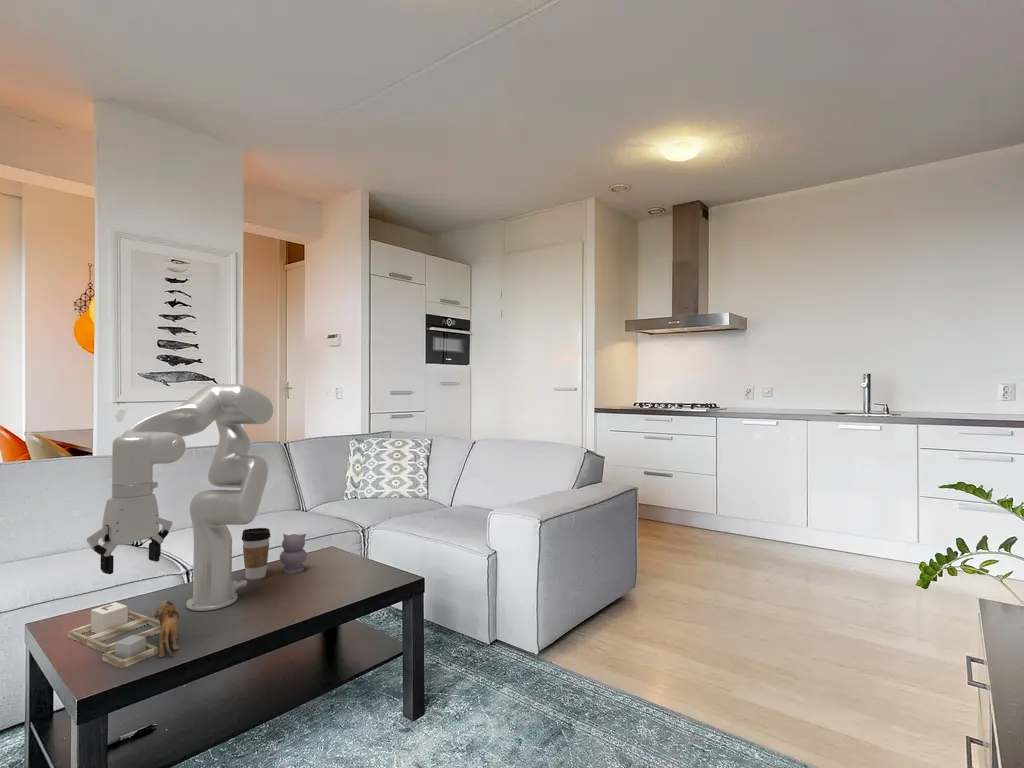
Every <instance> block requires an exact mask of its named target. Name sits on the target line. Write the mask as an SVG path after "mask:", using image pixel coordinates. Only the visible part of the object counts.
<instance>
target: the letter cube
mask: <svg viewBox="0 0 1024 768" xmlns="http://www.w3.org/2000/svg"><path fill="white" fill-rule="evenodd" d="M128 611H129V607H128V605H126V604H122V603H119V602H118V601H117V602H116V601H115V602H112V603H108V604H106V605H103V606H100V607H99V606H98V607H96V608H93V609H91V610H90V624H91V631H90V632H91V633H93V632H94V633H93V634H95V633H96V634H98V633H101V632H104V631H106V630H109V629H112V628H115V627H118V626H121V625H124V624H126V623H129V622H128V621H129V620H128V619H129V618H128Z"/></svg>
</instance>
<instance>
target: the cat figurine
mask: <svg viewBox="0 0 1024 768" xmlns="http://www.w3.org/2000/svg"><path fill="white" fill-rule="evenodd" d="M306 536H307V533H304V534H303V533H302V534H297V533H293V534H285V533H283V540H282V543H281V547H282V549H283V550H282V551H281V553H280V555H279V561H280V563H281V564H282V565H284V566H283V569H282V570H283V573H284V574H286V575H292V574H298V573H302V572H303V571H304V570H305V565H304V563H305V561H306V560H307V557H308V553H307V552H306V550H305V549H304V547H305V545H306Z"/></svg>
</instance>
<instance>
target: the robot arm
mask: <svg viewBox="0 0 1024 768" xmlns="http://www.w3.org/2000/svg"><path fill="white" fill-rule="evenodd" d="M273 415H274V407H273V403H272V401H271V400H270V398H269V397H268V396H266V395H264V394H263V393H261V392H259V391H257V390H256V389H254V388H252V387H250V386H248V385H244V384H238V383H237V384H235V383H234V384H233V383H228V384H227V383H226V384H225V383H213V384H209V385H206V386H204V387H202V388H201V389H200V390H199V391H198V392H196V393H194V394H193V395H192V396H191V397H190V398H188V399H187V400H186V401H184V402H183V403H182V404H180V405H179V406H176V407H173V408H169V409H166V410H165V411H162V412H160V413H156V414H153V415H151V416H148V417H145V418H144V419H142V420H140V421H138V422H136V423H135V424H133V425H132V426H131V427H129V428H128V429H126V431H125V432H124V433H122V434H121V435H120V436H117V437H116V438H115V439H114V440H113V441H112V448H111V449H112V452H111V453H112V454H111V455H112V456H111V457H112V460H111V461H112V462H111V463H112V464H111V465H112V466H111V470H112V471H111V481H112V482H111V498H107V500H106V503H105V508H104V511H103V518H102V524H101V528H100V529H99V530H97V531H96V532H94V533H93V534H92V535H90V536H88V537H87V538H86V542H87V543H88V546H90V549H91V550H92V551H94V552H96V553H97V555H99V556H100V571H101V572H102V573H103V574H106V575H112V574H113V573H114V563H115V562H114V561H115V560H114V555H112V553H113V552H114V550H115V549H116V548H117V547H118V546H121V545H126V544H129V543H135V542H139V541H144V540H150V541H151V542H149V544H148V560H149V561H151V562H157V563H158V562H160V556H161V555H162V554H161V551H162V550H161V549H162V548H161V547H162V545H161V544H163V542H164V540H165V538H166V537H167V536H168V535H169V531H170V530H171V528H172V526H173V521H171V520H168V519H165V518H162V517H160V514H159V506H158V500H157V496H156V494H155V493H153V492H154V489H156V488H158V487H159V483H158V482H157V481H155V482H154V480H153V479H154V478H153V474H154V473H153V471H154V467H153V466H154V465H163V464H164V465H167V464H168V465H169V464H173V463H174V462H177V461H178V460H180V459H181V458H182V457H183V455H184V454H185V451H186V446H187V445H186V442H185V439H184V438H183V437H187V436H188V437H189V436H193V435H195V434H198V433H200V432H201V433H202V432H204V431H205V430H206V429H207V428H208V427H209V426H210V425H211V424H212V423H213V422H214V421H215V423H216V426H217V430H218V435H219V437H218V439H219V440H218V444H217V447H216V450H215V453H214V455H213V458H212V461H211V464H210V467H209V469H208V473H207V478H208V479H207V480H208V482H209V484H210V485H212V486H214V487H218V488H227V489H207V490H202V491H200V492H198V493H196V494H195V495H194V496H193V497H192V498H191V501H190V504H189V514H190V519H191V525H192V531H193V534H192V535H193V567H192V568H193V573H192V576H193V577H192V578H193V579H192V581H193V583H192V584H193V586H192V597H190V598H189V599H187V601H186V606H185V607H186V608H187V609H188V610H190V611H195V612H205V611H207V612H208V611H214V610H218V609H222V608H225V607H227V606H230V605H232V604H234V603H235V602H236V601H237V600H238V593H237V592H236V591H238V589H242V588H244V587H246V586H247V584H248V582H247V579H246V578H245V579H243V580H239V581H237V580H235V579H234V580H232V577H233V576H232V575H233V574H232V573H233V572H232V571H233V570H232V568H233V567H232V566H233V563H232V562H233V536H232V533H231V531H230V529H229V527H228V526H233V525H234V526H242V525H249V524H250V523H252V522H253V520H254V519H255V518H256V516H257V514H258V511H259V507H260V504H261V501H262V499H263V495H264V491H265V488H266V484H267V480H268V476H269V466H268V462H267V461H266V459H265V458H264V457H262V456H260V455H255V454H249V450H250V447H251V439H250V437H249V435H248V434H247V432H246V431H245V429H244V428H243V426H242V425H264V424H266V423H269V422H270V420H271V419H272V417H273ZM229 488H230V489H229ZM231 488H232V489H231ZM233 488H234V489H233ZM238 489H239V490H238ZM160 525H162V526H161V530H160ZM100 539H101V541H102V542H103V545H100V543H99V540H100Z"/></svg>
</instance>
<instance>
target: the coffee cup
mask: <svg viewBox="0 0 1024 768" xmlns="http://www.w3.org/2000/svg"><path fill="white" fill-rule="evenodd" d="M271 535H272V534H271V530H270V529H269V528H266V527H257V528H256V527H255V528H254V527H253V528H246V529H243V531H242V535H241V541H243V542H242V544H243V545H242V552H243V562H244V571H245V572H244V573H245V580H259V579H263V578H264V577H266V575H267V569H268V568H267V567H268V565H267V564H268V560H269V550H270V549H269V548H270V538H271Z"/></svg>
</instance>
